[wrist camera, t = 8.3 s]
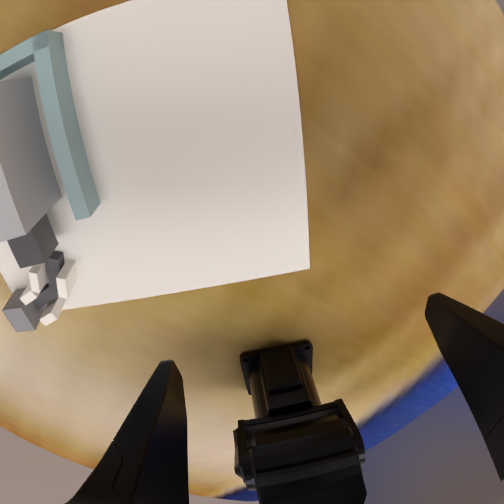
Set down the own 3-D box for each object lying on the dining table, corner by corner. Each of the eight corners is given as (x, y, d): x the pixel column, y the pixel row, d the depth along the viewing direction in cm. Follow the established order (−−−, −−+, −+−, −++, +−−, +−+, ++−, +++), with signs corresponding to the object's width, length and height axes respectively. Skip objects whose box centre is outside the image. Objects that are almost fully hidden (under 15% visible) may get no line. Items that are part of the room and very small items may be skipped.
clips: (94, 301, 21) (87, 321, 19) (46, 308, 21) (36, 326, 19) (70, 247, 19) (58, 265, 17) (20, 259, 18) (7, 276, 16)
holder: (62, 32, 12) (47, 29, 10) (100, 203, 17) (90, 217, 16) (-40, 92, 11) (-58, 96, 10) (0, 232, 17) (-13, 246, 15)
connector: (31, 77, 13) (-18, 83, 8) (75, 233, 18) (46, 277, 14) (-14, 102, 12) (-63, 117, 8) (31, 244, 18) (-1, 286, 14)
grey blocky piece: (87, 302, 21) (77, 325, 19) (27, 310, 21) (16, 332, 18) (61, 247, 18) (47, 268, 16) (1, 262, 18) (-15, 282, 16)
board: (306, 262, 23) (309, 268, 22) (28, 308, 22) (24, 314, 21) (279, -18, 13) (282, -22, 12) (-50, 96, 12) (-57, 98, 11)
